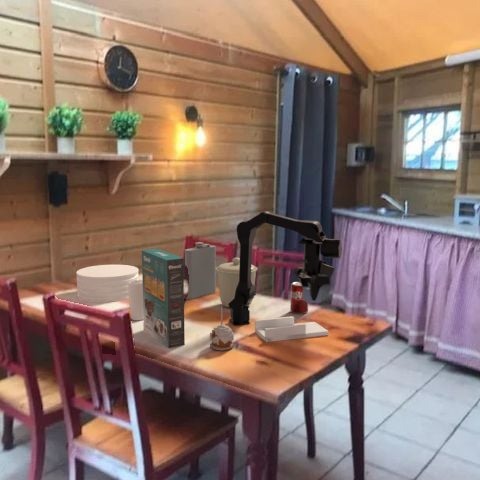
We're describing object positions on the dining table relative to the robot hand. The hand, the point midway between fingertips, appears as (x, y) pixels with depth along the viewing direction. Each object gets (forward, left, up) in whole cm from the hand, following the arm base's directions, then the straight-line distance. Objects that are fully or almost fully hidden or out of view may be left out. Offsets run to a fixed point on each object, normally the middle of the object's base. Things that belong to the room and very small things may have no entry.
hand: (310, 298), depth 187 cm
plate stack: (-67, +77, -13) cm, 103 cm away
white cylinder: (-58, +34, -13) cm, 69 cm away
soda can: (+7, +24, -13) cm, 28 cm away
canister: (-15, +41, -13) cm, 46 cm away
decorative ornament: (-35, -6, -13) cm, 38 cm away
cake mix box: (-52, +10, -13) cm, 55 cm away
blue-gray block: (+1, 0, -1) cm, 1 cm away
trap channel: (-7, 0, -12) cm, 14 cm away
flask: (-26, +62, -13) cm, 69 cm away
